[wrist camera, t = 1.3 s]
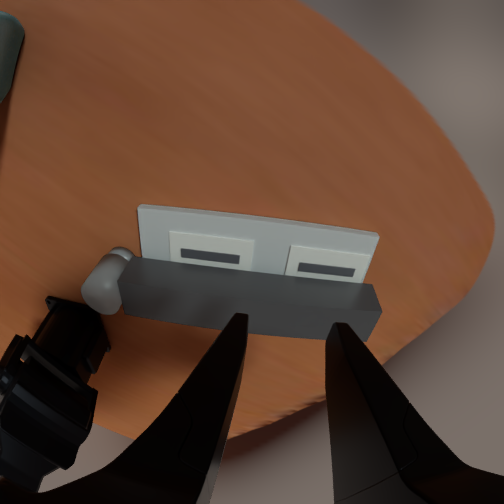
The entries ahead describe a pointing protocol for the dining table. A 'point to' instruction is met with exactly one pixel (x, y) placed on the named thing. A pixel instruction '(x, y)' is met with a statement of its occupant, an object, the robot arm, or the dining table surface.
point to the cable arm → (229, 297)
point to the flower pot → (8, 50)
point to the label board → (253, 243)
